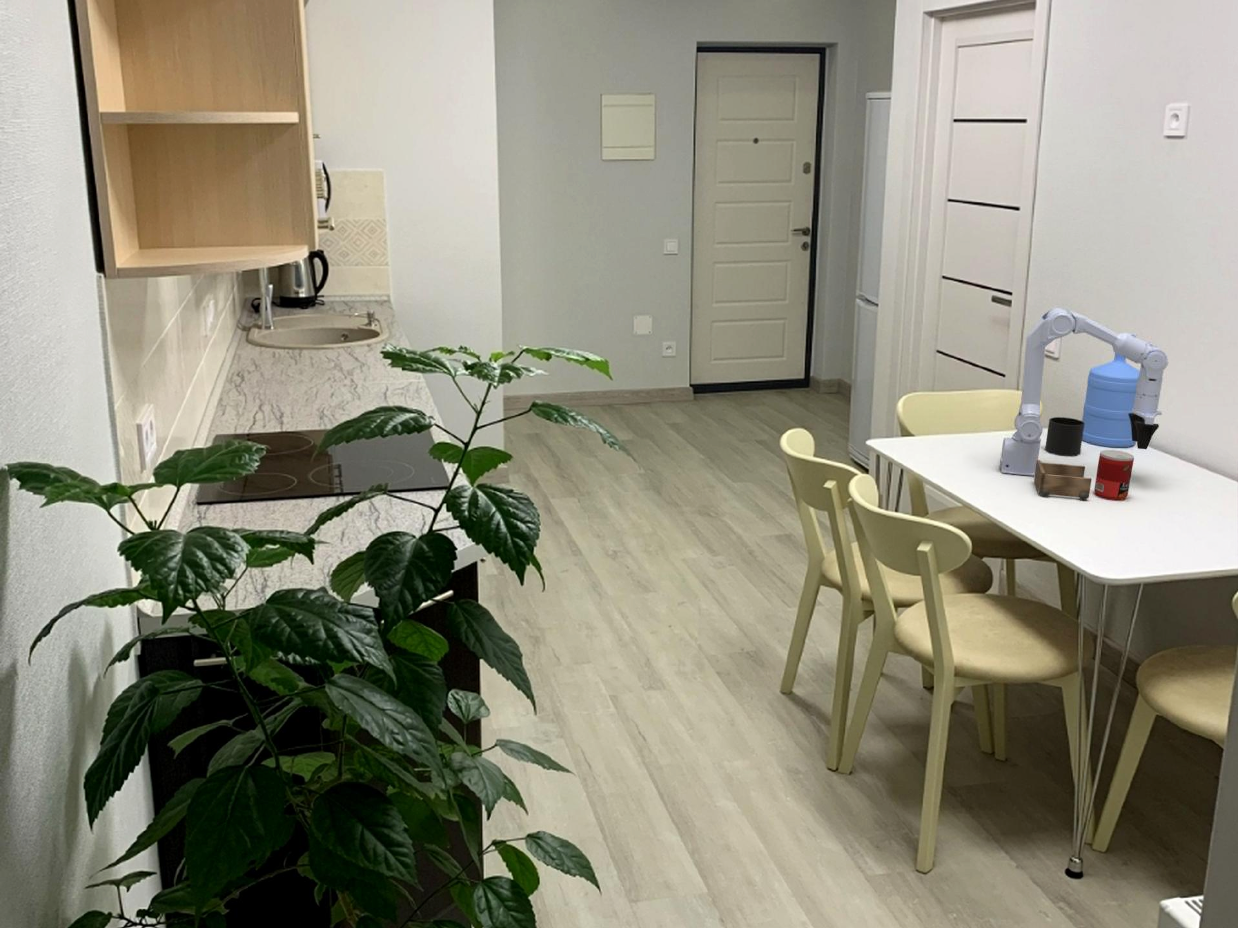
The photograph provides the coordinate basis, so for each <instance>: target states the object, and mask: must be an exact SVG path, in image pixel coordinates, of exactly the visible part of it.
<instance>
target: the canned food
mask: <svg viewBox="0 0 1238 928" xmlns="http://www.w3.org/2000/svg"><path fill="white" fill-rule="evenodd" d="M1134 458H1135V456H1134V455H1133V454H1132V453H1129V452H1126V451H1122V450H1117V449H1116V450H1115V449H1104V450H1101V451H1100V452H1099V458H1098V462H1097V464H1098V465H1097V470H1096V476H1095V484H1094V495H1095V496H1097V497H1099V498H1101V499H1104V500H1110V501H1124V500H1126V499H1127V498H1128V496H1129V490H1130V485H1131V484H1130V483H1131V477H1132V473H1133V468H1134V467H1133V466H1134V461H1135V459H1134Z"/></svg>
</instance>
